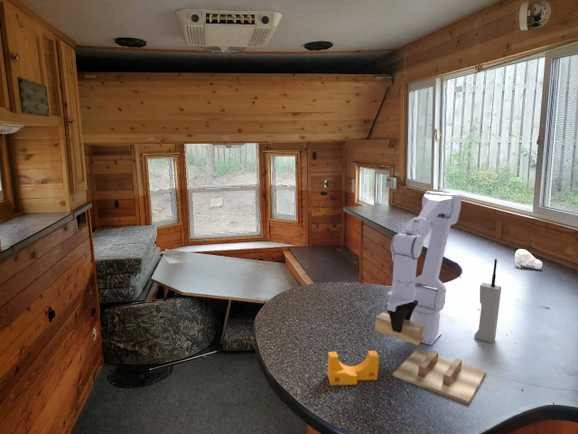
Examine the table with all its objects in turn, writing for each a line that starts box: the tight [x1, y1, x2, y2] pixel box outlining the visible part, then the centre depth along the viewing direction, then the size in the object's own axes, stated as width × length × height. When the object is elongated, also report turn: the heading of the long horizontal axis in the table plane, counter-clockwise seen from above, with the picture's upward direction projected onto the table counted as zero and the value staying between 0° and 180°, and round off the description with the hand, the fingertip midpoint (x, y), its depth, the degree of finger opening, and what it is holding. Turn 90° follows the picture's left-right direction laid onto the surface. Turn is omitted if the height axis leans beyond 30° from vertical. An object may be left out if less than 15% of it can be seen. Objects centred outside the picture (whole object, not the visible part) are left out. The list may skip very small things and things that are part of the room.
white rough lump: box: [514, 248, 543, 270], centre depth 198 cm, size 6×8×12 cm
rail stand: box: [392, 348, 487, 406], centre depth 105 cm, size 16×18×3 cm
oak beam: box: [374, 312, 425, 346], centre depth 111 cm, size 4×12×4 cm, turn 51°
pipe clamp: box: [326, 350, 380, 386], centre depth 102 cm, size 12×4×6 cm, turn 95°
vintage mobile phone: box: [474, 258, 502, 344], centre depth 123 cm, size 4×5×25 cm
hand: (400, 328), depth 111 cm, fingers closed on oak beam, 4 cm apart
